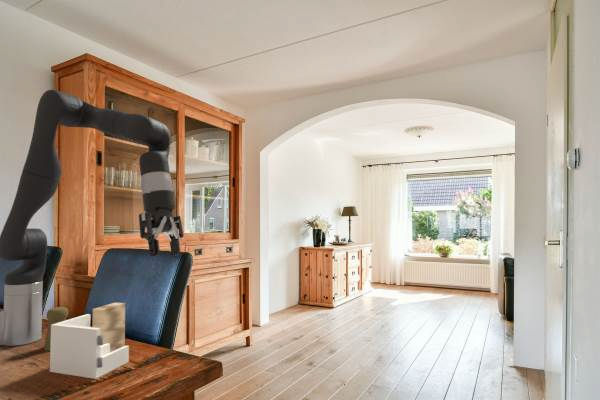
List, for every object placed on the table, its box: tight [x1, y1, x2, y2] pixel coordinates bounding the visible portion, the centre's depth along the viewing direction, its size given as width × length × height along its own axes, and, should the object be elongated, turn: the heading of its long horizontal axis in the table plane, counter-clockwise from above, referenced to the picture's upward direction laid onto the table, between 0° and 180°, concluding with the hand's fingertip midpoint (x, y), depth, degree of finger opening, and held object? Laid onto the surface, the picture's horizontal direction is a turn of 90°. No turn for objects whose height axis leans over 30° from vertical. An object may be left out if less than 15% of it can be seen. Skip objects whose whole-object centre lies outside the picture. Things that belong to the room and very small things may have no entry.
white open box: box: [49, 313, 130, 380], centre depth 92 cm, size 10×15×11 cm
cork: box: [43, 306, 69, 352], centre depth 107 cm, size 6×6×11 cm
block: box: [91, 302, 126, 352], centre depth 104 cm, size 8×4×12 cm, turn 163°
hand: (166, 255), depth 93 cm, fingers open, 8 cm apart
